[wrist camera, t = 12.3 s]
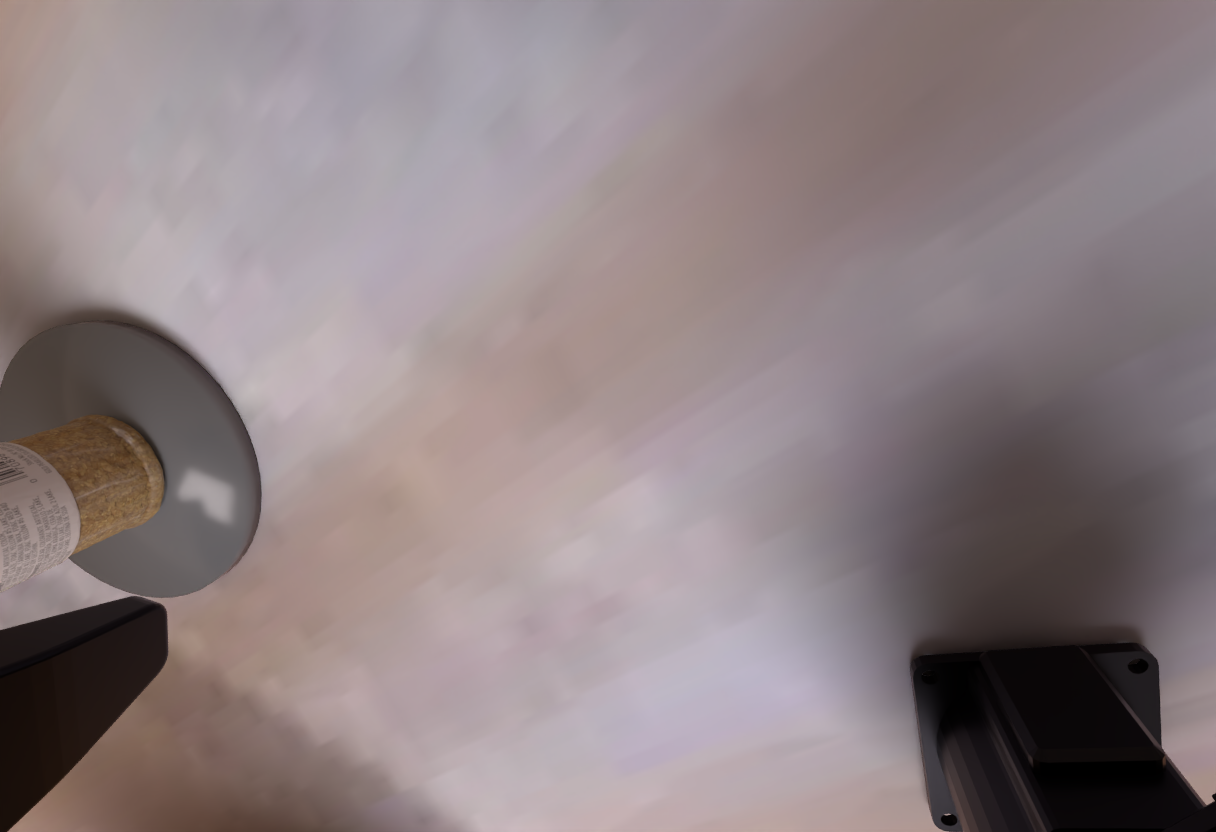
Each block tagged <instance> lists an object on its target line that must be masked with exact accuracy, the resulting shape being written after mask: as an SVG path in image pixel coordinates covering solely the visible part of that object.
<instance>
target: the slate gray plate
mask: <svg viewBox="0 0 1216 832" xmlns="http://www.w3.org/2000/svg"><path fill="white" fill-rule="evenodd" d="M87 415H103V416H109V417H113V418H115V419H117V420H118V421H122V422H124V423H125V424H127V425H129V426H131V427H132V428H134V429H135V430H136V431H138V432H139V433H140V434H141V436H142V437H143V438H144V439H145V441H146V442H147V443H148V444H149V445H150V446H151V448H152V449H153V451H154V453H155V456H156V457H157V459H158V461H159V463H160V465H161V468H162V470H163V477H164V495H163V498H162V502H161V506H160V509H159V511H158V512H157V513H156V514H155V515H154V516H153V517H152V518H151V519H149V520H148V521H147V522H145V523H144V524H142V525H139V526H137V527H134V528H130V529H125V530H123V531H121V532H119V533H117V534H115V535H113V536H110V537H108V538H106V539H104V540H102V541H100V542H98V543H96V544H94V545H92V546H90V547H88V548H86V549H84V550H81V551H79V552H77V553H75V554H73V555H71V556H70V557H68V558H69V559H70V560H71V561H72V562H74V563H75V564H76V565H78V566H79V567H80V568H82V569H83V570H84V571H86V572H87V573H89V574H91V575H92V576H94V577H96V578H97V579H99V580H101V581H103V582H105V583H107V584H109V585H111V586H113V587H115V588H118V589H121V590H123V591H126V592H129V593H133V594H137V595H141V596H146V597H156V598H167V597H178V596H183V595H188V594H190V593H193V592H195V591H198V590H200V589H202V588H204V587H205V586H207V585H209V584H210V583H212V582H214V581H215V580H217V579H218V578H220V577H221V576H223V575H224V574H226V573H227V572H228V571H230V570H231V569H232V568H233V567H234V566H235V565H236V564H237V563H238V562H239V561H240V560H241V558H242V557H243V556H244V555H245V553H246V552H247V550H248V548H249V546H250V544H251V543H252V541H253V538H254V535H255V532H256V529H257V527H258V521H259V516H260V511H261V485H260V475H259V470H258V465H257V460H256V456H255V453H254V450H253V447H252V444H251V441H250V438H249V436H248V434H247V432H246V429H245V427H244V425H243V422H242V421H241V419H240V417H239V415H238V414H237V412H236V410H235V408H234V406H233V405H232V403H231V402H230V400H229V399H228V398H227V396H226V395H225V393H224V392H223V391H222V389H221V388H220V386H219V385H218V384H217V383H216V382H215V381H214V380H213V378H212V377H211V376H210V375H209V374H208V373H207V372H206V371H205V370H204V369H203V368H202V367H201V366H200V365H199V364H198V363H197V362H196V361H195V360H194V359H193V358H191V357H190V356H189V355H187V354H186V353H185V352H183V351H182V350H181V349H180V348H178V347H177V346H175V345H174V344H172V343H170V342H169V341H167V340H165V339H164V338H162V337H160V336H158V335H156V334H154V333H152V332H149V331H147V330H145V329H143V328H139V327H136V326H133V325H129V324H126V323H120V322H113V321H90V322H83V323H76V324H69V325H64V326H59V327H55V328H52V329H49V330H47V331H44V332H42V333H40V334H39V335H37V336H35V337H34V338H32V339H30V340H29V341H28V342H27V343H26V344H25V345H24V346H23V347H22V348H21V349H20V350H19V351H18V352H17V354H16V355H15V356H14V358H13V359H12V360H11V362H10V364H9V366H8V368H7V370H6V372H5V374H4V378H3V381H2V384H1V388H0V443H1V442H9V441H12V440H17V439H21V438H24V437H28V436H31V435H34V434H36V433H39V432H43V431H47V430H51V429H54V428H57V427H60V426H63V425H66V424H68V423H69V422H70V421H72V420H74V419H77V418H80V417H83V416H87Z"/></svg>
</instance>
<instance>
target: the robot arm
mask: <svg viewBox="0 0 1216 832" xmlns="http://www.w3.org/2000/svg"><path fill="white" fill-rule="evenodd" d="M167 657H168V625H167V611H166V609H165V607H164V606H163V605H162V604H160V603H157V602H154V601H151V600H148V599H145V598H142V597H137V596H131V597H127V598H123V599H119V600H115V601H111V602H107V603H103V604H100V605H96V606H92V607H88V608H84V609H80V610H76V611H72V612H69V613H65V614H61V615H57V616H53V617H49V618H45V619H42V620H38V621H34V622H30V623H26V624H22V625H18V626H15V627H11V628H7V629H3V630H0V832H7V831H9V830H10V829H11V828H12V827H13V826H14V825H15V824H16V823H17V822H18V821H19V820H20V819H21V818H22V817H23V816H24V815H25V814H26V813H27V812H29V811H30V810H31V809H32V808H33V807H34V806H35V805H36V804H37V803H38V802H39V801H40V800H41V799H42V798H43V797H44V796H45V795H46V794H47V793H48V792H50V791H51V790H52V789H53V788H54V787H55V786H56V785H57V784H58V783H59V782H60V781H61V780H62V779H63V778H64V777H65V776H66V775H67V774H68V772H69V771H70V770H71V769H72V768H73V767H74V766H75V765H76V764H77V763H78V762H79V761H80V760H81V759H82V758H83V757H84V755H85V754H86V753H87V752H88V751H89V750H90V749H91V748H92V747H93V745H94V744H95V743H96V742H97V741H98V740H99V739H100V738H101V737H102V736H103V734H104V733H105V732H106V731H107V730H108V729H109V728H110V727H111V726H112V724H113V723H114V722H115V721H116V720H117V719H118V718H119V717H120V716H121V715H122V713H123V712H124V711H125V710H126V709H127V708H128V707H129V706H130V705H131V703H132V702H133V701H134V700H135V699H136V698H137V697H138V696H139V695H140V694H141V692H142V691H143V690H144V689H145V688H146V687H147V686H148V685H149V684H150V682H151V681H152V680H153V679H154V678H155V677H156V676H157V675H158V673H159V672H160V671H161V669H162V668H163V666H164V664H165V662H166V660H167ZM1134 659H1140V661H1139V662H1137V663H1136V664H1133V665H1128V664H1129V662H1130V661H1132V660H1134ZM928 670H931V671H935V673H934V674H933V675H930V676H925V675H922V674H923V673H924V672H925V671H928ZM910 674H911V681H912V688H913V695H914V702H915V709H916V716H917V723H918V730H919V737H920V745H921V752H922V759H923V766H924V773H925V780H926V787H927V794H928V801H929V808H930V812H931V816H932V819H933V822H934V824H935V825H936V826H937V827H938V828H939V829H941V830H944V831H949V832H1216V793H1215V794H1213V795H1212V797H1213V799H1214V800H1215V801H1214V802H1212V803H1210V804H1209V805H1207V806H1206V804H1205V803H1204V802H1203V800H1202V799H1201V798H1200V797H1199V795H1198V794H1197V793H1196V792H1195V790H1194V789H1193V788H1192V786H1191V785H1190V784H1189V783H1188V781H1187V780H1186V779H1185V777H1184V776H1183V775H1182V774H1181V772H1180V771H1179V770H1178V768H1177V767H1176V766H1175V765H1174V763H1173V762H1172V761H1171V759H1170V758H1169V757H1168V756H1167V754H1166V753H1165V752H1164V750H1163V749H1162V746H1161V718H1160V690H1159V665H1158V662H1157V659H1156V658H1155V657H1154V656H1153V655H1152V654H1151V653H1150V652H1149V651H1148V650H1147V649H1146V648H1145V647H1144V646H1142V645H1140V644H1138V643H1117V644H1101V645H1084V646H1075V645H1072V646H1056V647H1040V648H1024V649H1008V650H991V651H986V652H971V653H955V654H939V655H925V656H920V657H918V658H916V659H915V660H913V662H912V663H911V665H910ZM948 813H949V814H951V815H947V816H946V815H944V814H948Z"/></svg>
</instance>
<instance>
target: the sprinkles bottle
mask: <svg viewBox="0 0 1216 832" xmlns="http://www.w3.org/2000/svg"><path fill="white" fill-rule="evenodd" d="M163 495H164V477H163V470H162V468H161V465H160V463H159V461H158V459H157V457H156V456H155V453H154V451H153V449H152V448H151V446H150V445H149V444H148V443H147V442H146V441H145V439H144V438H143V437H142V436H141V434H140V433H139V432H138V431H136V430H135V429H134V428H132V427H131V426H129V425H127V424H125V423H124V422H122V421H118V420H117V419H115V418H113V417H109V416H103V415H87V416H83V417H80V418H77V419H74V420H72V421H70V422H69V423H68V424H66V425H63V426H60V427H57V428H54V429H51V430H47V431H43V432H39V433H36V434H34V435H31V436H28V437H24V438H21V439H17V440H12V441H9V442H1V443H0V593H1V592H3V591H5V590H7V589H9V588H11V587H13V586H15V585H17V584H19V583H21V582H23V581H25V580H27V579H29V578H31V577H33V576H35V575H38V574H40V573H42V572H44V571H46V570H48V569H50V568H52V567H54V566H56V565H58V564H60V563H62V562H63V561H65V560H66V559H67V558H68V557H70V556H71V555H73V554H75V553H77V552H79V551H81V550H84V549H86V548H88V547H90V546H92V545H94V544H96V543H98V542H100V541H102V540H104V539H106V538H108V537H110V536H113V535H115V534H117V533H119V532H121V531H123V530H125V529H130V528H134V527H137V526H139V525H142V524H144V523H145V522H147V521H148V520H149V519H151V518H152V517H153V516H154V515H155V514H156V513H157V512H158V511H159V509H160V506H161V502H162V498H163Z"/></svg>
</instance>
